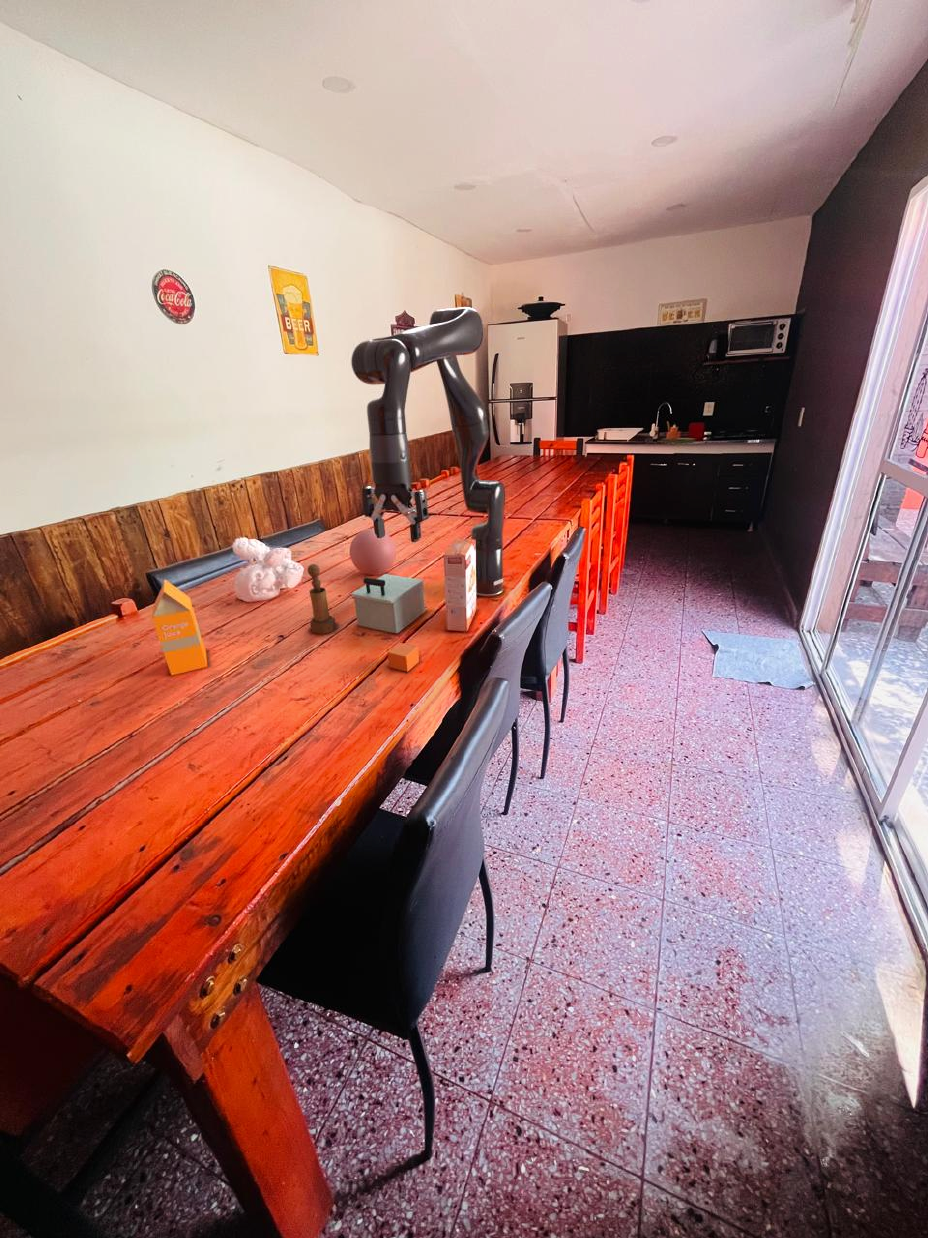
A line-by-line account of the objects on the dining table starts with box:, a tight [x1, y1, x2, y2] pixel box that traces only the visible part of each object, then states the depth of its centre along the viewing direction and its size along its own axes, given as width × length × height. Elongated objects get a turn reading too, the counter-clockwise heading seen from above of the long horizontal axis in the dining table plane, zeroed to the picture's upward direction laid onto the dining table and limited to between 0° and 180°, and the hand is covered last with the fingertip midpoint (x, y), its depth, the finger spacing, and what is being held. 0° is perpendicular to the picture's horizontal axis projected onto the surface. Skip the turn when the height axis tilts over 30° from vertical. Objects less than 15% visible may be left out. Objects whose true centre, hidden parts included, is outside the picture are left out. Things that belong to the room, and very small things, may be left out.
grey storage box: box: [353, 582, 426, 635], centre depth 134 cm, size 15×13×9 cm
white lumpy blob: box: [231, 536, 305, 603], centre depth 154 cm, size 19×20×20 cm
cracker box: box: [443, 538, 477, 633], centre depth 129 cm, size 14×6×21 cm, turn 168°
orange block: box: [387, 642, 420, 673], centre depth 113 cm, size 5×5×4 cm
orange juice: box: [151, 579, 208, 676], centre depth 113 cm, size 8×9×20 cm
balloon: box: [349, 528, 397, 576], centre depth 167 cm, size 15×20×15 cm
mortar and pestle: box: [307, 563, 337, 635], centre depth 128 cm, size 7×6×18 cm
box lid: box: [350, 573, 424, 604], centre depth 131 cm, size 16×13×5 cm
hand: (397, 539), depth 102 cm, fingers open, 8 cm apart
